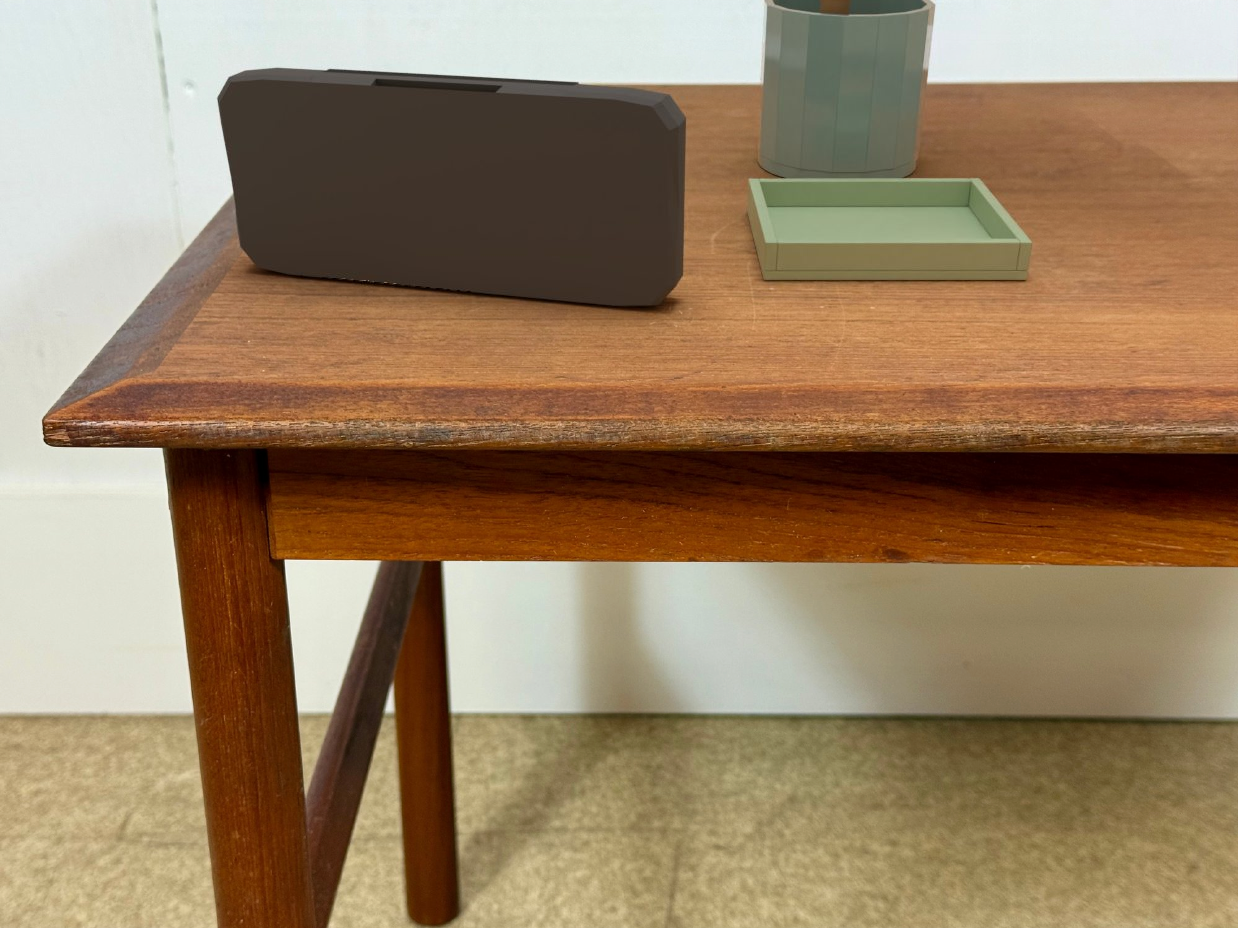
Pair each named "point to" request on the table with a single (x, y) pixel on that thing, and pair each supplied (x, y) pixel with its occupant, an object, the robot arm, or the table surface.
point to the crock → (843, 88)
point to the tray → (884, 230)
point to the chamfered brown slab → (459, 182)
